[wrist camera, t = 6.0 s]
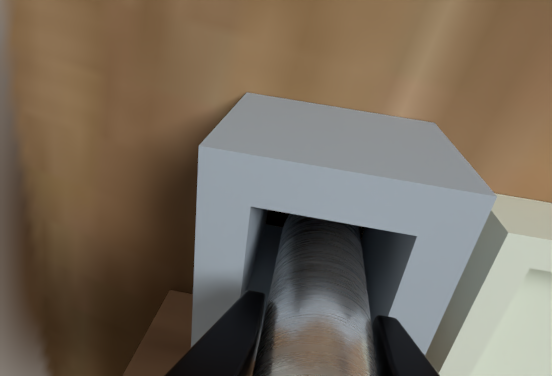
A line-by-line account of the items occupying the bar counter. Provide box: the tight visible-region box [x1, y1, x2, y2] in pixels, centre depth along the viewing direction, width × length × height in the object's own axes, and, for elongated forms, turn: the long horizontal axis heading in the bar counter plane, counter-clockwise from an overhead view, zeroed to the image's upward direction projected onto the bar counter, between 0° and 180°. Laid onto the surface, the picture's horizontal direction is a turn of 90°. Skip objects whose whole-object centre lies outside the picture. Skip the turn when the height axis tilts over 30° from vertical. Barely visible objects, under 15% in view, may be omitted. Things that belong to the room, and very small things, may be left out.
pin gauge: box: [252, 214, 378, 376], centre depth 7 cm, size 2×2×9 cm
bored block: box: [191, 93, 497, 359], centre depth 11 cm, size 6×6×5 cm
